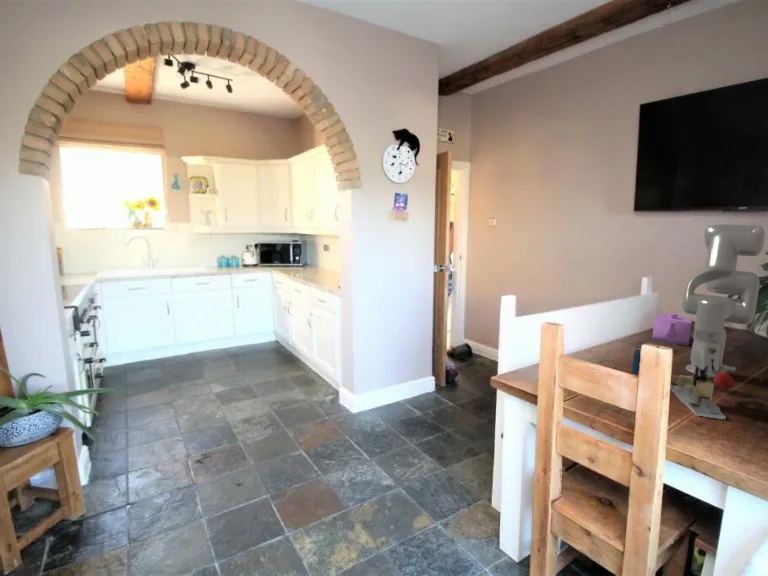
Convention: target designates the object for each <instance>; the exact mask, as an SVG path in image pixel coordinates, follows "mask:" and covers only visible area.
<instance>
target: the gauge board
mask: <svg viewBox="0 0 768 576" xmlns="http://www.w3.org/2000/svg"><path fill="white" fill-rule="evenodd" d="M670 379H672V381H670V382H671V390H672V391H671V390H670V391H671V392H672V393H673V392H674V393H675V394H674V393H673V394H674V395H675V396H676V397H677V398H678V400H679V401H680V402H681V403H684V404H685V405H686V406H687V407H688V408H689V409H690V410H691V411H692V412H693V413H694V414H695V415H696V416H695V415H694V414H693V413H692V412H691V411H690V410H689V409H688V408H687V407H686V406H685V405H684V404H683V405H684V406H685V407H686V408H687V409H688V410H689V411H690V412H691V413H692V414H693V415H694V416H695V417H699V416H703V417H702V418H707V417H709V418H708V419H714V418H716V419H717V420H722V419H724V421H725V420H726V415H725V414H724V413H723V412H722V411H721V408H720V407H719V406H718V405H717V404H716V403H715V402H714V401H713V400H712V401H711V400H710V399H709V398H708V397H702V396H699V402H697V401H695V400H694V399H693V398H694V393H695V389H693V390H692V394H689V390H690V388H685V387H684V385H692V386H694V385H693V380H694V376H691V375H682V374H679V375H673V374H672V376H671V378H670ZM676 379H677V382H676Z"/></svg>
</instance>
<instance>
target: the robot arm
mask: <svg viewBox="0 0 768 576" xmlns="http://www.w3.org/2000/svg"><path fill="white" fill-rule="evenodd" d="M765 235H766V233H765V229H764V227H762V226H761V225H756V224H753V225H752V224H725V223H724V224H713V225H710V226H707V227H706V228H705V229H704V237H703V238H704V243H705V247H706V249H707V256H706V260H705V265H704V268H703V269H702V270H700V271H698V272H697V273H696V274H694V275H693V276H692V277H691V278H690V279H689V280H688V282H687V283H686V286H685V288H684V294H683V297H682V304H681V307H682V310H683V312H684V313H686V314H689V315H693V316H695V322H694V327H693V332H692V333H693V335H692V339H693V342H692V346H691V352H690V359H689V360H690V362H691V363H690V364H687V365H686V366H685V370H686V371H687V372H689V373H690V374H691V373H692V374H693V378H694V380H693V385H694V386H696V382H697V380H703V381H708V378H713V379H714V377H715V375H717V374H718V373H720V372H723V371H725V370H726V371H727V372H730V373H731V372H732V373H735V372H736V367H734V366H729V365H726V364H723V357H724V351H725V346H726V339H727V331H726V329H725V327H724V326H725V323H729V324H730V323H731V324H736V325H747V326H748V325H750V324H752V323H753V321H754V319H755V315H756V310H757V303H758V298H759V297H758V296H759V290H760V284H761V283H760V277H759V275H758V274H757V273H755V272H753V271H752V272H751V271H742V270H741V271H740V270H737V264H738V257H739V256H742V257H757V256H759V255H760V254H761V252H762V251H763V250H764V245H765ZM703 284H705V288H706V290H707V291H708V292H710V293H712V294H713V293H714V294H719V295H712V294H705V293H704V294H703V293H695V291H696V289H697V288H698V287H699V286H701V285H703ZM721 295H727V296H728V295H729V296H738V297H740V298H741V299H739V298H729V297H727V296H721Z"/></svg>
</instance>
